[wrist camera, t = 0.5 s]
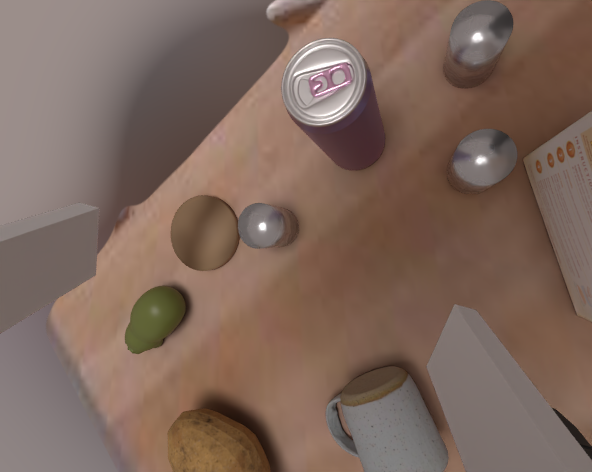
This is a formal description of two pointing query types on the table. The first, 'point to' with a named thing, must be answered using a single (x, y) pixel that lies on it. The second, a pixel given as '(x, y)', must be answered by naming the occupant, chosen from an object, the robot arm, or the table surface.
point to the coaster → (204, 233)
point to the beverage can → (335, 102)
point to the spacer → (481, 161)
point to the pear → (154, 318)
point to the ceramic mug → (387, 424)
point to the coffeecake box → (568, 205)
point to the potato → (213, 444)
